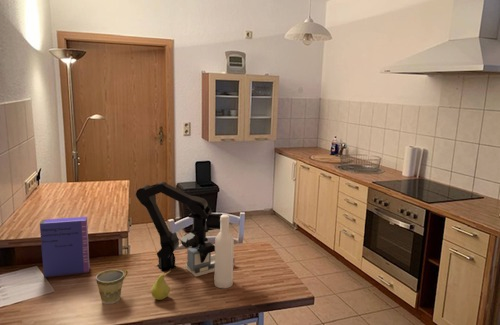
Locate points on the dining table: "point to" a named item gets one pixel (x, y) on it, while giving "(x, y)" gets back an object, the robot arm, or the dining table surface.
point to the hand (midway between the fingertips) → (199, 260)
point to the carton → (196, 258)
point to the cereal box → (64, 246)
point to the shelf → (204, 268)
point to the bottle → (224, 255)
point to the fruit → (160, 288)
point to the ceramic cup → (110, 285)
